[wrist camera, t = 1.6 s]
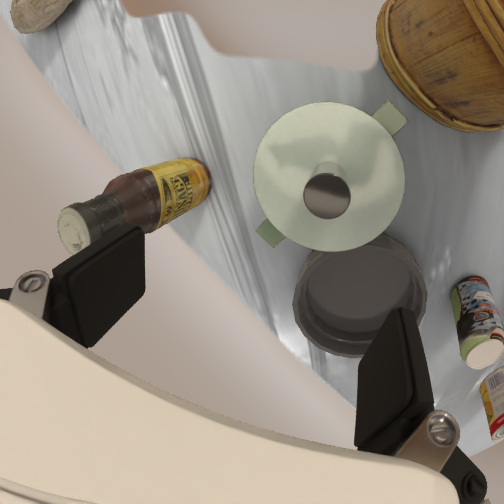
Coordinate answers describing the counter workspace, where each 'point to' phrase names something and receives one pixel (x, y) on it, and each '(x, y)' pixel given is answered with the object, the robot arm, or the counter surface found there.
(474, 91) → the tankard
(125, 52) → the counter surface
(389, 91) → the counter surface
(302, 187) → the lid
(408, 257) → the pan
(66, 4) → the beige rounded lump
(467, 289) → the beverage can
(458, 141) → the counter surface
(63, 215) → the sauce bottle
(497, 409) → the canned food
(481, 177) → the counter surface
